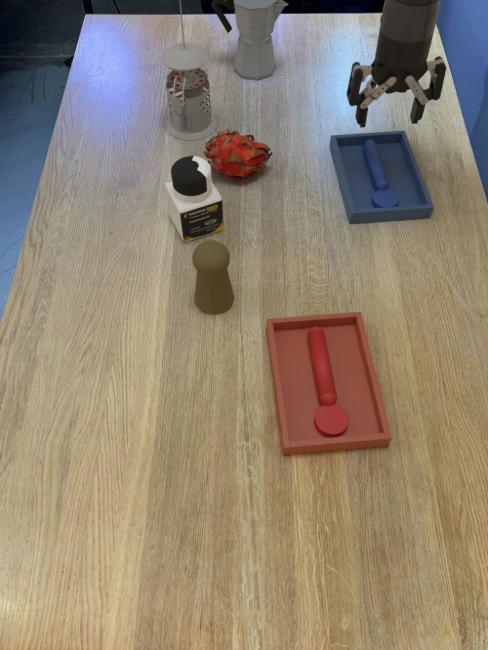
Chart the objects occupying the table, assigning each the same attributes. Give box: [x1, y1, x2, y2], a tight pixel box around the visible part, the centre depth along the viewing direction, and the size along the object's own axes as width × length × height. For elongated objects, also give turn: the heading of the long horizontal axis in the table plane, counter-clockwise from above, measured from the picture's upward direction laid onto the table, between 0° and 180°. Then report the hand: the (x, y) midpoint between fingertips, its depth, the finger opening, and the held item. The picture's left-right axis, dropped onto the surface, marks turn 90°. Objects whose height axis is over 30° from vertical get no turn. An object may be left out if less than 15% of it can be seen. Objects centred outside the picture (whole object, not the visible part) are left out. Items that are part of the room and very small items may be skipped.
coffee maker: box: [210, 0, 289, 81], centre depth 117 cm, size 15×9×18 cm, turn 77°
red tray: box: [265, 311, 393, 456], centre depth 81 cm, size 14×20×2 cm
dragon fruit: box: [202, 127, 273, 182], centre depth 104 cm, size 8×8×12 cm
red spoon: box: [308, 326, 349, 438], centre depth 81 cm, size 16×4×2 cm, turn 5°
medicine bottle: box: [164, 155, 225, 243], centre depth 95 cm, size 7×7×12 cm
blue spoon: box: [363, 140, 399, 208], centre depth 103 cm, size 16×4×2 cm, turn 5°
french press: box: [161, 0, 218, 141], centre depth 103 cm, size 10×12×25 cm
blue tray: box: [328, 130, 435, 225], centre depth 104 cm, size 14×20×2 cm
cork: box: [191, 239, 235, 316], centre depth 86 cm, size 6×6×11 cm
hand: (387, 122), depth 98 cm, fingers open, 8 cm apart
